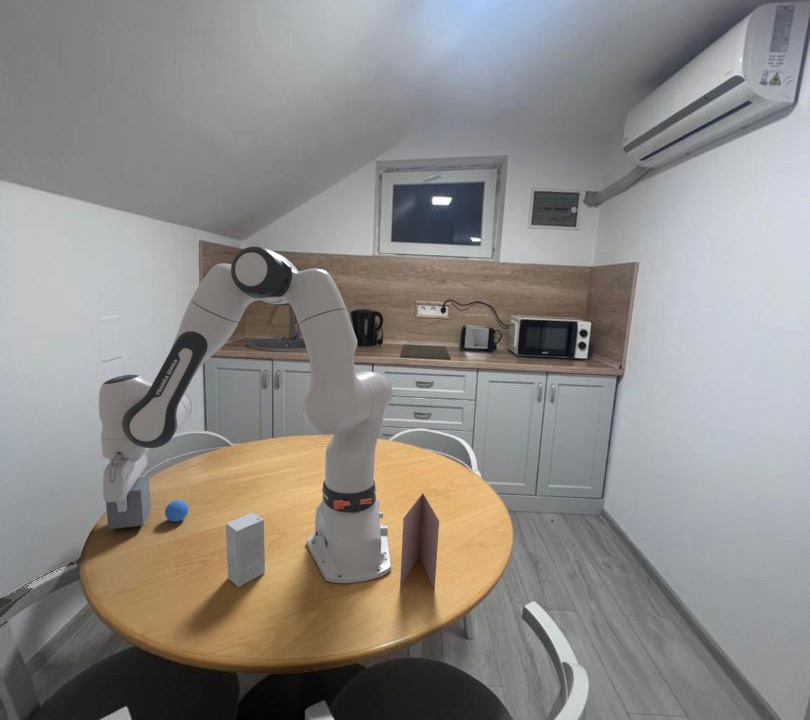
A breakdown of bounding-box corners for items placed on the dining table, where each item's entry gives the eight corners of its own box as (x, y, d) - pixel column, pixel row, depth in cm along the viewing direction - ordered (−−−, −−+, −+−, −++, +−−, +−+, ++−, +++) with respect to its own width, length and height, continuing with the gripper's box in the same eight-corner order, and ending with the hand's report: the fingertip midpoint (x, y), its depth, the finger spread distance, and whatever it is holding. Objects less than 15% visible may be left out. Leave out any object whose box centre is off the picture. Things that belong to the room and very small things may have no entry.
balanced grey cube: (143, 525, 100) (140, 489, 98) (108, 529, 98) (105, 493, 96) (151, 510, 106) (148, 476, 105) (118, 513, 104) (115, 479, 103)
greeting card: (415, 554, 96) (419, 492, 94) (447, 563, 94) (452, 499, 91) (395, 586, 86) (399, 517, 83) (431, 597, 83) (436, 526, 81)
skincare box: (253, 564, 91) (253, 511, 88) (265, 573, 88) (265, 519, 86) (226, 578, 86) (224, 523, 84) (237, 588, 83) (236, 531, 81)
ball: (186, 524, 104) (185, 505, 103) (163, 527, 102) (162, 507, 101) (190, 514, 108) (189, 495, 108) (168, 516, 107) (167, 497, 106)
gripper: (126, 462, 90) (131, 523, 92) (152, 430, 109) (154, 481, 112) (91, 464, 88) (96, 526, 91) (123, 431, 107) (127, 483, 110)
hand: (129, 501), depth 101 cm, fingers closed on balanced grey cube, 7 cm apart
